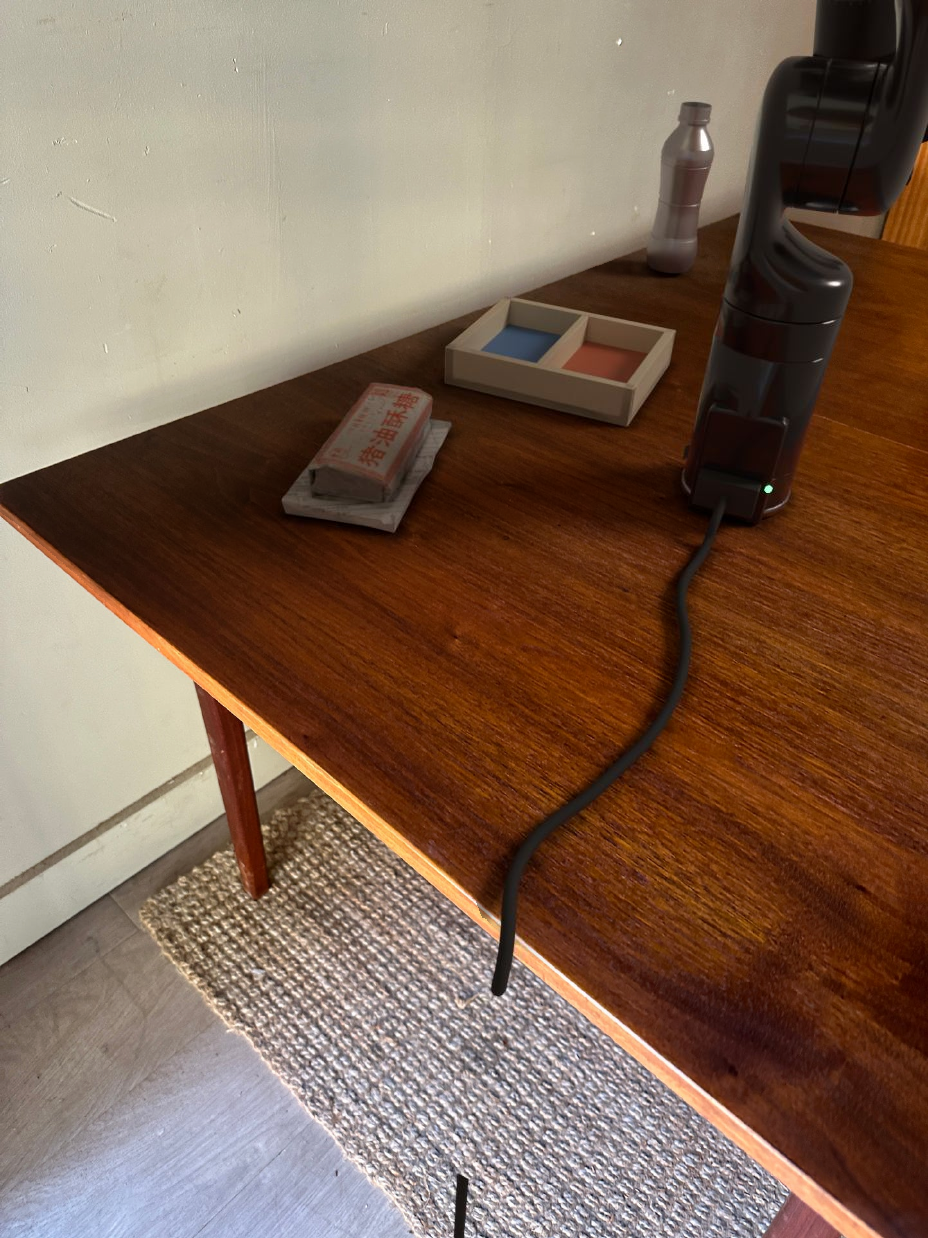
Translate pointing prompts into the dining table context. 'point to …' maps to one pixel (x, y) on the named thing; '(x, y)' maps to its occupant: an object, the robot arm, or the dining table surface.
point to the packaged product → (371, 460)
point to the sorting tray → (561, 359)
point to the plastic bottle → (681, 190)
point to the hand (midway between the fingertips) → (846, 188)
